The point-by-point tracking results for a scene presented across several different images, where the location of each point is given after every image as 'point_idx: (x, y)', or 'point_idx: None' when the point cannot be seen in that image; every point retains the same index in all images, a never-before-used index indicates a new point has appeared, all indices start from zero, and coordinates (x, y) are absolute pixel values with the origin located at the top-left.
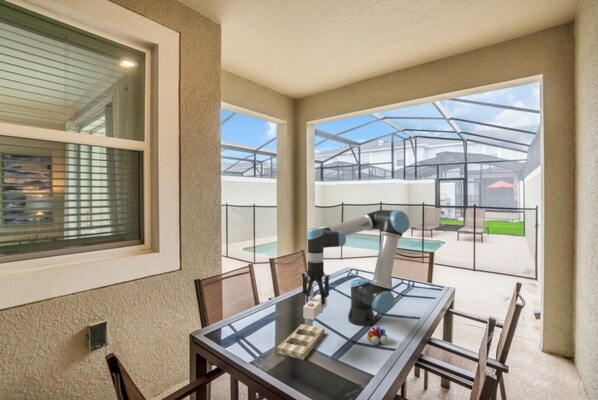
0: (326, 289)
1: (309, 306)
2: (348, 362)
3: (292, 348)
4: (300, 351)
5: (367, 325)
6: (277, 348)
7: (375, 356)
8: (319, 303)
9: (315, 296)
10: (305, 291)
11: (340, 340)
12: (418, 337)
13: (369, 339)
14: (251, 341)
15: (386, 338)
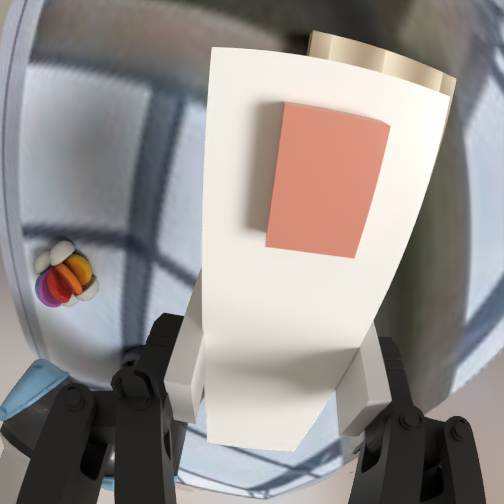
0: (31, 488)
1: (332, 108)
2: (108, 87)
3: (385, 73)
4: (335, 50)
5: (133, 348)
6: (451, 77)
7: (44, 171)
8: (204, 315)
9: (303, 430)
10: (433, 458)
11: (183, 242)
12: (15, 303)
13: (79, 258)
14: None
15: (34, 264)
